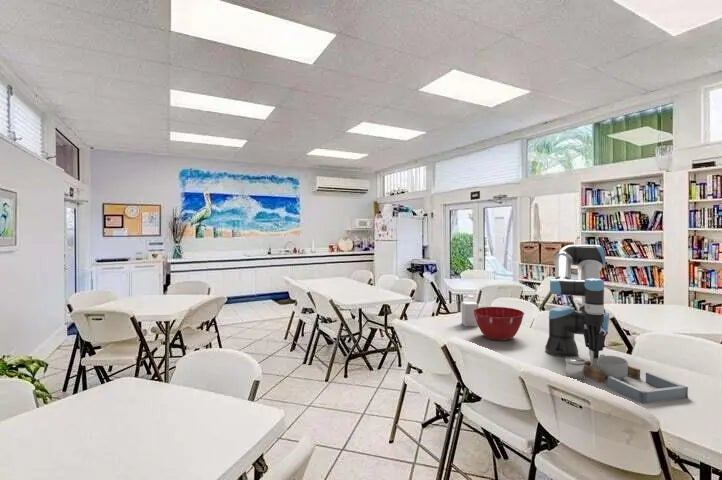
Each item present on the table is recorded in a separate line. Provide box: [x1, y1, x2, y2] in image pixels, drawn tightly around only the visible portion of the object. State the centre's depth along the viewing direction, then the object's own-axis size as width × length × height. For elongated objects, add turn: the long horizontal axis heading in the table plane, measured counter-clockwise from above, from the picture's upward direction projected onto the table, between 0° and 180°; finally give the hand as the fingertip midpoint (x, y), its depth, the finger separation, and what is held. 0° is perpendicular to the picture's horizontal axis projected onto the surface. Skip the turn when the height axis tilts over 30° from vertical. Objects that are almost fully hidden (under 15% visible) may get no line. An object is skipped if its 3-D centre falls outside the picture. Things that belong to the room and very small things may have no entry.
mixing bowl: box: [473, 306, 525, 341], centre depth 227 cm, size 28×28×15 cm
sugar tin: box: [564, 356, 586, 382], centre depth 165 cm, size 7×7×8 cm
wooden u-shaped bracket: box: [584, 360, 641, 384], centre depth 168 cm, size 14×19×4 cm
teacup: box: [597, 354, 629, 381], centre depth 166 cm, size 14×11×8 cm
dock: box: [607, 371, 689, 404], centre depth 150 cm, size 16×20×4 cm
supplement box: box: [461, 301, 479, 327], centre depth 257 cm, size 9×9×15 cm
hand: (593, 364), depth 174 cm, fingers closed
